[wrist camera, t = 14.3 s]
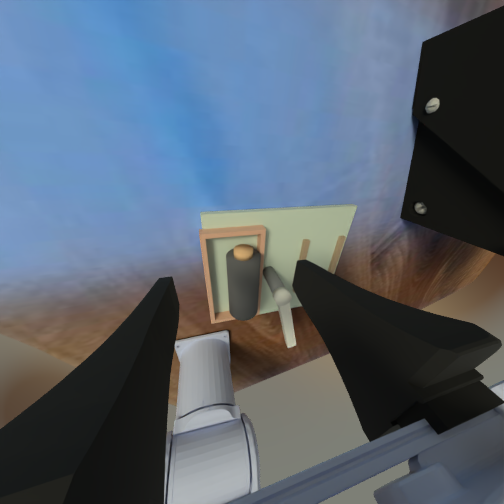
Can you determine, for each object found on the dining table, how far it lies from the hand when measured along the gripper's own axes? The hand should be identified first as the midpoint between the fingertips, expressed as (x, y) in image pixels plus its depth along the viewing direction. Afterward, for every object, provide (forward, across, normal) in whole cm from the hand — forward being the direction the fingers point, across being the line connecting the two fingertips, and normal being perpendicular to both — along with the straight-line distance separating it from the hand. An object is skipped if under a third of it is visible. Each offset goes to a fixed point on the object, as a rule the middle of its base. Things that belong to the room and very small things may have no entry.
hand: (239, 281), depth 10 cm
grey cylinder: (+9, -1, +7) cm, 11 cm away
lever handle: (+5, -7, +11) cm, 14 cm away
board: (+10, -7, +7) cm, 14 cm away
